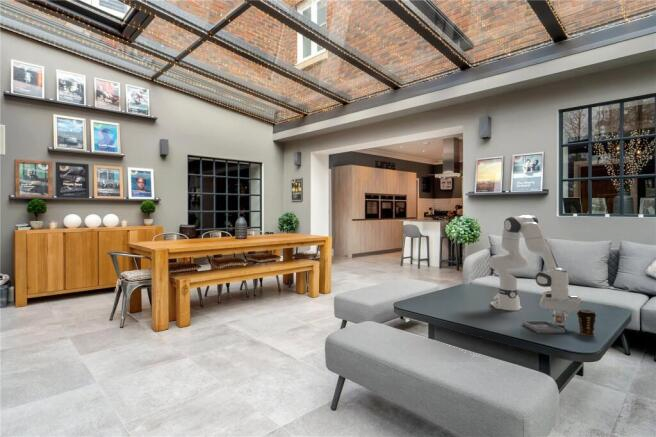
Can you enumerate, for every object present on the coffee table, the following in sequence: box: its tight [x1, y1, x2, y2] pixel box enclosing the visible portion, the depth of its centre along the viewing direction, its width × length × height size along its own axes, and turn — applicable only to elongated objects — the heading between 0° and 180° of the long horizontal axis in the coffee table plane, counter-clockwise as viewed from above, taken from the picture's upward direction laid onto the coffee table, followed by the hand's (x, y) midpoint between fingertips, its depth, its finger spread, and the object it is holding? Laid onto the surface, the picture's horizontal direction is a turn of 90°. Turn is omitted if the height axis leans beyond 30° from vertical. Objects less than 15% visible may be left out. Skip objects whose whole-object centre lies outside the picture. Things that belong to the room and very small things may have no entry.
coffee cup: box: [576, 309, 597, 336], centre depth 197 cm, size 9×8×13 cm
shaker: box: [553, 310, 566, 326], centre depth 211 cm, size 6×5×8 cm
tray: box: [522, 320, 566, 335], centre depth 205 cm, size 16×15×2 cm
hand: (559, 317), depth 211 cm, fingers closed on shaker, 5 cm apart
